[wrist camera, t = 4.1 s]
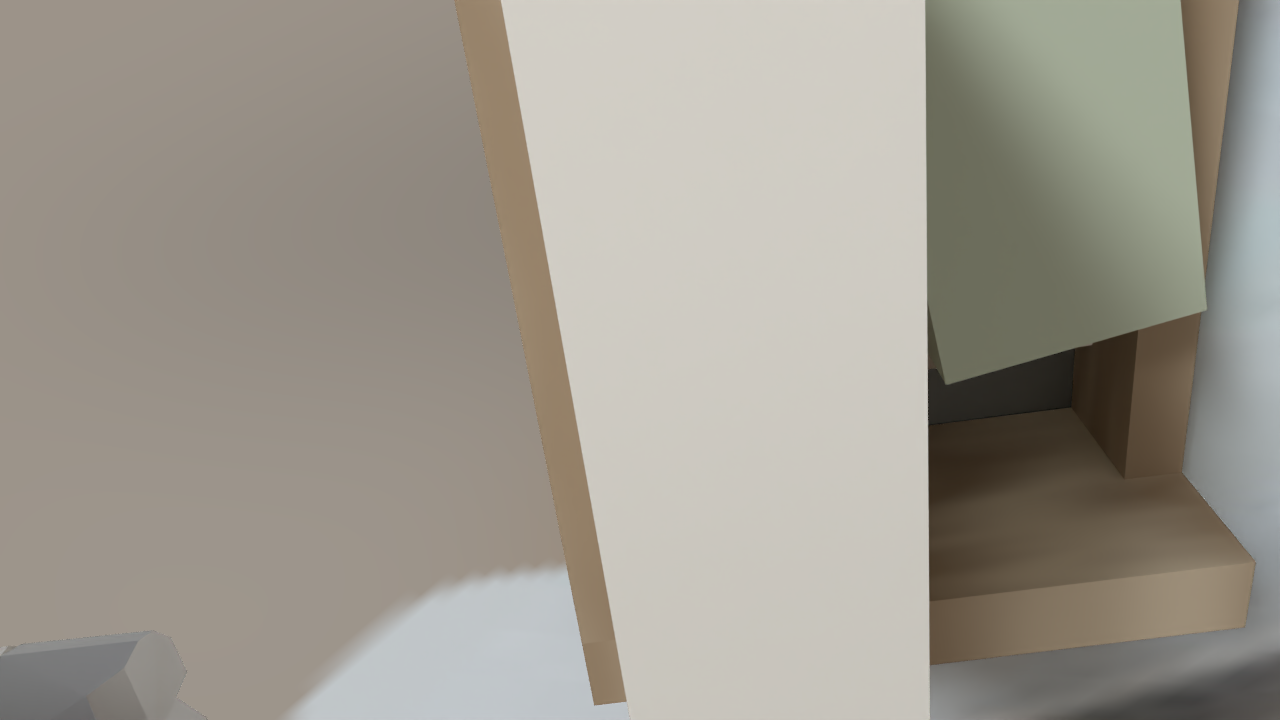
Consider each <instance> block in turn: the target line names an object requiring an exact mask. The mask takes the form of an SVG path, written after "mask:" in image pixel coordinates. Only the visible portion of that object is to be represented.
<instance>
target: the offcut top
mask: <svg viewBox="0 0 1280 720" xmlns="http://www.w3.org/2000/svg"><path fill="white" fill-rule="evenodd" d="M925 48H926V201H927V352H928V354H929V356H930V358H931V359H932V361H933V363H934V365H935V366H936V368H937V370H938V372H939V374H940V375H941V377H942V379H943V381H944V382H945V384H946V385H948V384H952V383H955V382H959V381H962V380H966V379H969V378H973V377H976V376H980V375H983V374H987V373H990V372H993V371H997V370H1000V369H1004V368H1007V367H1011V366H1014V365H1018V364H1021V363H1025V362H1028V361H1032V360H1035V359H1039V358H1042V357H1046V356H1049V355H1053V354H1056V353H1060V352H1063V351H1067V350H1070V349H1073V348H1077V347H1080V346H1084V345H1087V344H1091V343H1094V342H1098V341H1101V340H1105V339H1108V338H1112V337H1115V336H1119V335H1122V334H1126V333H1129V332H1133V331H1136V330H1140V329H1143V328H1147V327H1150V326H1153V325H1157V324H1160V323H1164V322H1167V321H1171V320H1174V319H1178V318H1181V317H1185V316H1188V315H1192V314H1195V313H1199V312H1202V311H1206V310H1207V303H1206V291H1205V279H1204V268H1203V256H1202V245H1201V233H1200V221H1199V210H1198V198H1197V186H1196V175H1195V163H1194V152H1193V140H1192V128H1191V117H1190V105H1189V94H1188V82H1187V70H1186V59H1185V47H1184V35H1183V24H1182V12H1181V1H1180V0H925Z"/></svg>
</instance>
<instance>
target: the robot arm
mask: <svg viewBox="0 0 1280 720" xmlns="http://www.w3.org/2000/svg"><path fill="white" fill-rule="evenodd" d="M186 673H187V670H186V668H185V666H184V664H183V662H182V660H181V658H180V656H179V653H178V651H177V649H176V647H175V645H174V643H173V641H172V639H171V637H169V636H166V635H164V634H161V633H158V632H156V631H143V632H134V633H125V634H115V635H105V636H95V637H85V638H76V639H66V640H58V641H47V642H38V643H28V644H21V645H19V646H8V647H7V646H6V647H0V720H207V718H206V717H205V716H204V715H202V714H201V713H199V712H198V711H196V710H195V709H193V708H191V707H190V706H189V705H187V704H186V703H184V702H183V701H181V700H180V699H178V698H177V697H176V696H177V694H178V692H179V689H180V687H181V685H182V682H183V680H184V678H185V676H186Z"/></svg>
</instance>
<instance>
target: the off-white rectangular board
mask: <svg viewBox="0 0 1280 720" xmlns="http://www.w3.org/2000/svg"><path fill="white" fill-rule="evenodd" d="M501 4H502V10H503V15H504V21H505V26H506V32H507V37H508V43H509V49H510V54H511V60H512V65H513V71H514V76H515V82H516V88H517V93H518V99H519V104H520V110H521V115H522V121H523V126H524V132H525V138H526V143H527V149H528V154H529V160H530V165H531V171H532V177H533V182H534V188H535V193H536V199H537V204H538V210H539V216H540V221H541V227H542V232H543V238H544V243H545V249H546V255H547V260H548V266H549V271H550V277H551V282H552V288H553V294H554V299H555V305H556V310H557V316H558V321H559V327H560V333H561V338H562V344H563V349H564V355H565V360H566V366H567V372H568V377H569V383H570V388H571V394H572V399H573V405H574V411H575V416H576V422H577V427H578V433H579V438H580V444H581V450H582V455H583V461H584V466H585V472H586V477H587V483H588V489H589V494H590V500H591V505H592V511H593V516H594V522H595V527H596V533H597V539H598V544H599V550H600V555H601V561H602V566H603V572H604V578H605V583H606V589H607V594H608V600H609V605H610V611H611V617H612V622H613V628H614V633H615V639H616V644H617V650H618V656H619V661H620V667H621V672H622V678H623V683H624V689H625V695H626V700H627V706H628V711H629V717H630V720H930V660H929V507H928V354H927V201H926V48H925V0H501Z"/></svg>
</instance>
